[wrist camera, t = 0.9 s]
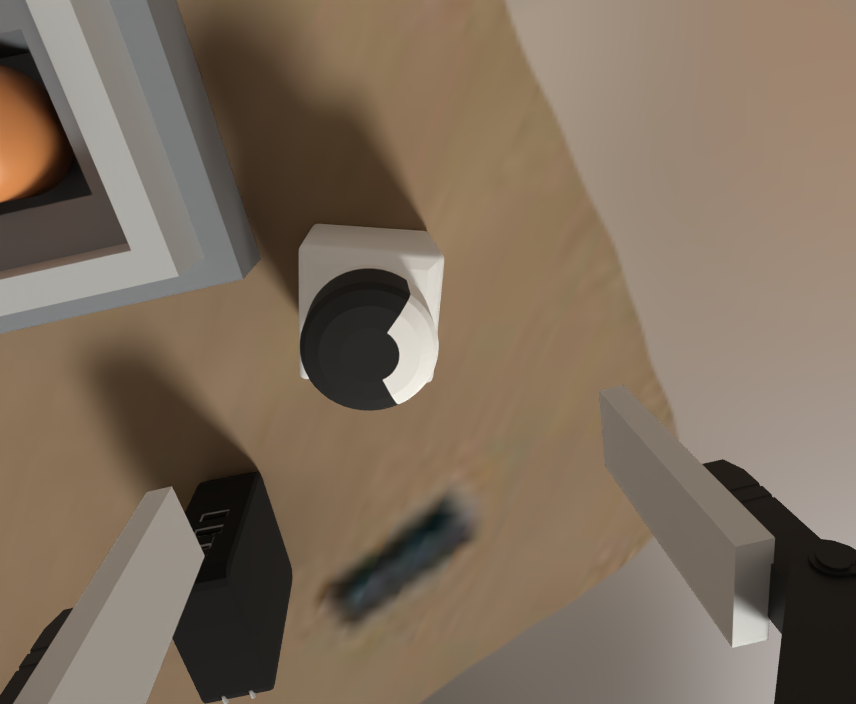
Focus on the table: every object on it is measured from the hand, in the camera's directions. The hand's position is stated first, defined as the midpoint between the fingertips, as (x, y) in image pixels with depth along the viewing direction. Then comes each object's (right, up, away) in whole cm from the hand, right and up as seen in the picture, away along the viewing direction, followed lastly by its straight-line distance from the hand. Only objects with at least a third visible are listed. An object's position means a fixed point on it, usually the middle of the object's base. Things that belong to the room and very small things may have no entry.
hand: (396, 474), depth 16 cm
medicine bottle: (-3, +8, +18) cm, 20 cm away
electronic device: (-12, -9, +24) cm, 28 cm away
